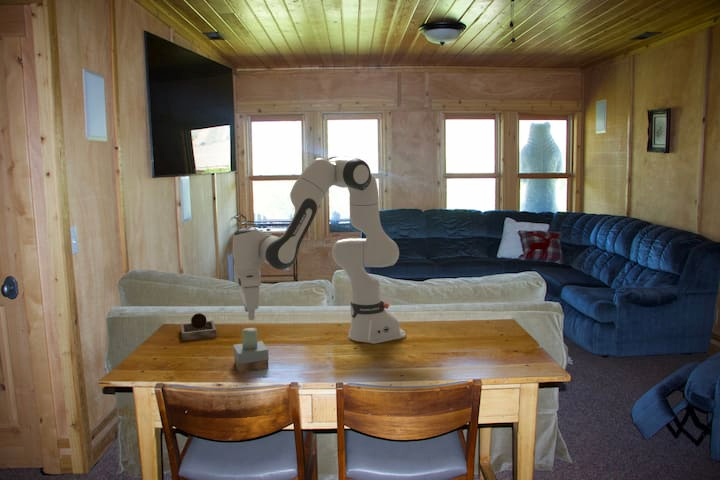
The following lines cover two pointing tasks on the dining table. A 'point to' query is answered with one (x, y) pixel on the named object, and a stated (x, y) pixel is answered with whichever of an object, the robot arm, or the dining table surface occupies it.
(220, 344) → the dining table surface
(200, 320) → the compass
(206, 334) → the wooden frame
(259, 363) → the walnut slab
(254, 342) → the sage green rounded oval
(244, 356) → the grey slab
